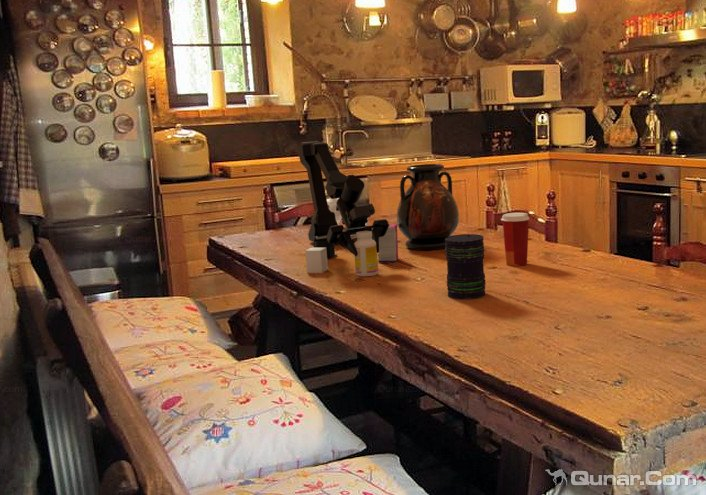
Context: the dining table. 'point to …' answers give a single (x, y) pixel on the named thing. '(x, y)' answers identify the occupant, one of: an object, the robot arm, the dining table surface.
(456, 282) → the storage jar
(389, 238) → the supplement box
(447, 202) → the amphora vase
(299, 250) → the dining table surface
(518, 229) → the coffee cup
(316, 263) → the grey block
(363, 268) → the supplement bottle
